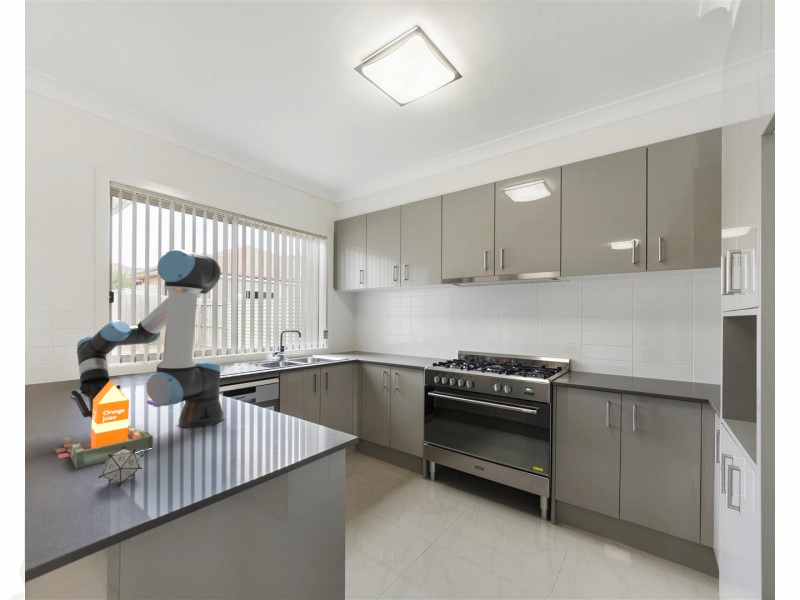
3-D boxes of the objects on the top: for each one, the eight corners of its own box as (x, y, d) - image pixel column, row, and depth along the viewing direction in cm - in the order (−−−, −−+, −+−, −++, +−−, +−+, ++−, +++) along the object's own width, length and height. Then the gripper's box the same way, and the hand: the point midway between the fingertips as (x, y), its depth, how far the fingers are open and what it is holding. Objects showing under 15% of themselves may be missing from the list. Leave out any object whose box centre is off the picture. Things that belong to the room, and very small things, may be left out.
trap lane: (63, 445, 106) (64, 432, 106) (130, 431, 119) (130, 419, 119) (76, 468, 90) (77, 453, 90) (152, 449, 103) (152, 435, 103)
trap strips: (54, 450, 102) (54, 449, 102) (64, 448, 103) (64, 447, 103) (59, 459, 95) (59, 458, 95) (69, 457, 97) (69, 456, 97)
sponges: (156, 408, 151) (156, 403, 152) (146, 403, 159) (146, 399, 159) (174, 404, 157) (174, 400, 157) (163, 400, 165) (164, 396, 165)
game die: (117, 495, 83) (121, 454, 89) (151, 481, 84) (153, 442, 90) (85, 493, 76) (91, 449, 81) (122, 478, 77) (127, 435, 82)
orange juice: (121, 439, 111) (124, 379, 112) (127, 446, 105) (130, 382, 106) (89, 446, 105) (93, 382, 106) (94, 454, 99) (97, 386, 100)
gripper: (115, 378, 125) (124, 433, 114) (67, 383, 115) (71, 444, 104) (119, 365, 122) (129, 420, 111) (70, 369, 112) (75, 430, 101)
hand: (101, 432), depth 107 cm, fingers closed
